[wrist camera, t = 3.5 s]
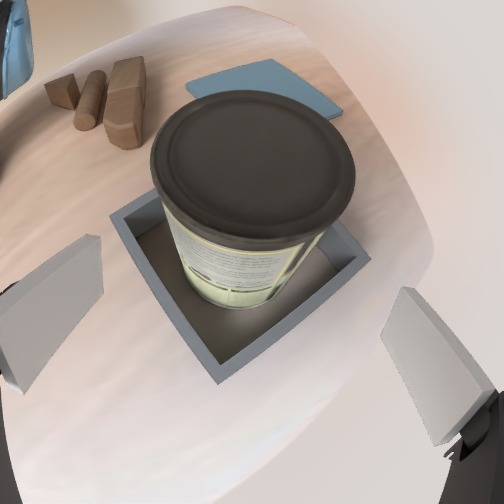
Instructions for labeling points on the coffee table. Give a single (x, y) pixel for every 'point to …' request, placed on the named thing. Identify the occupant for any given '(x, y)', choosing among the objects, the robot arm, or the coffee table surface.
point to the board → (265, 85)
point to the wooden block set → (117, 105)
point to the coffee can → (248, 190)
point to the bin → (130, 227)
